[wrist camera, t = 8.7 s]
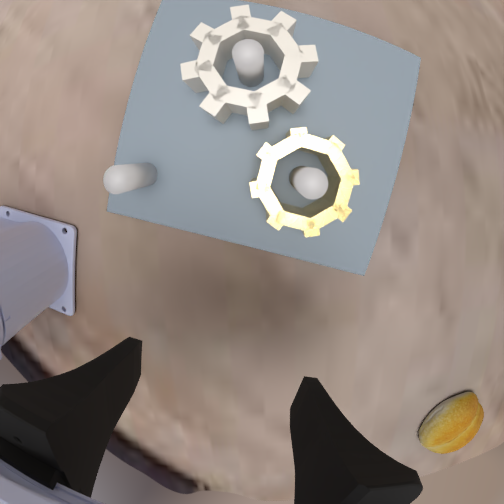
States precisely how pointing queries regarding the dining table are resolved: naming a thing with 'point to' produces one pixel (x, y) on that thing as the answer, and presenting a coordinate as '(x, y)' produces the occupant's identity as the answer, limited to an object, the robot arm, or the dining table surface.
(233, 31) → the gear
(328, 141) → the brass gear
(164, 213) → the gear board
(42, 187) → the dining table surface
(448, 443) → the bread roll
